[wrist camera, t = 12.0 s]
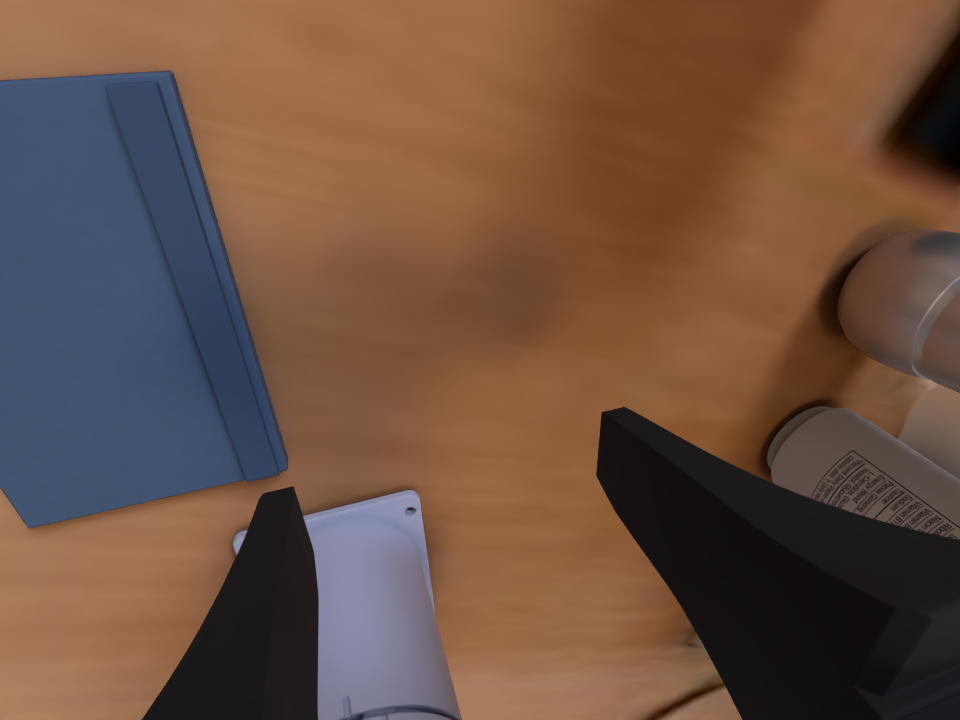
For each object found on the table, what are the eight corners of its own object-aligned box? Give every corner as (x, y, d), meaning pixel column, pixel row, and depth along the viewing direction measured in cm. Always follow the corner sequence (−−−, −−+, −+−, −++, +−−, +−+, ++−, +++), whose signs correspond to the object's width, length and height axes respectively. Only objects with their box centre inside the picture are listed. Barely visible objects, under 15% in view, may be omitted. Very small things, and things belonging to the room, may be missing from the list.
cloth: (288, 459, 22) (288, 477, 21) (35, 515, 20) (23, 538, 19) (172, 70, 15) (165, 72, 14) (-245, 94, 13) (-286, 98, 12)
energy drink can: (812, 479, 35) (1104, 721, 22) (742, 480, 32) (1024, 752, 20) (863, 400, 32) (1226, 625, 20) (790, 395, 30) (1148, 647, 17)
